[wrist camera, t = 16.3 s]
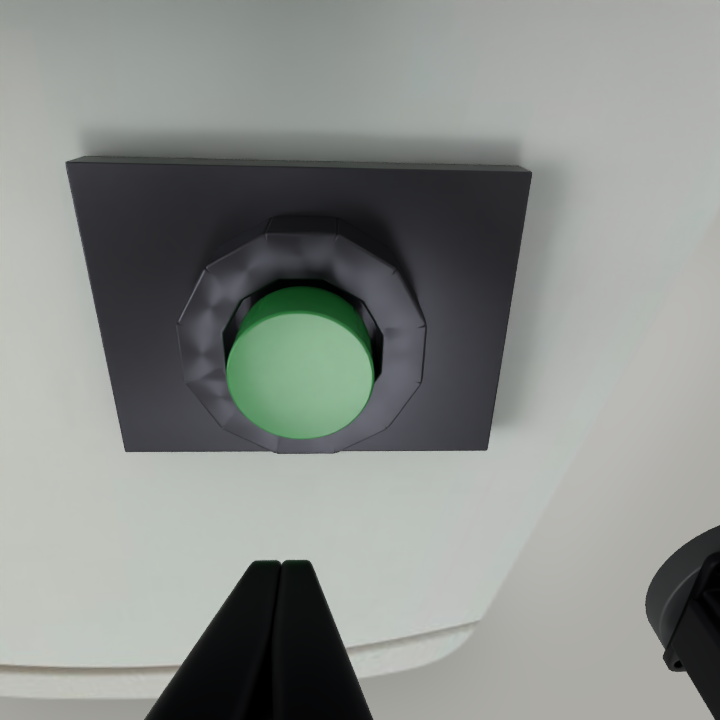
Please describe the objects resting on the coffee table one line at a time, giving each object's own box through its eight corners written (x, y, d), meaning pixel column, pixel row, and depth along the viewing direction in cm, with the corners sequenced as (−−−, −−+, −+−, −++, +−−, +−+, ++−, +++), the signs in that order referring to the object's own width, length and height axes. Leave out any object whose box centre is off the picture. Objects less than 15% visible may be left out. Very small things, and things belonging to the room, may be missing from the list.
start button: (372, 286, 14) (377, 311, 13) (368, 404, 16) (371, 440, 14) (232, 284, 14) (219, 310, 12) (242, 404, 16) (232, 440, 14)
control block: (519, 165, 15) (557, 183, 13) (479, 430, 20) (502, 486, 17) (83, 155, 15) (28, 172, 12) (136, 431, 19) (103, 489, 16)
